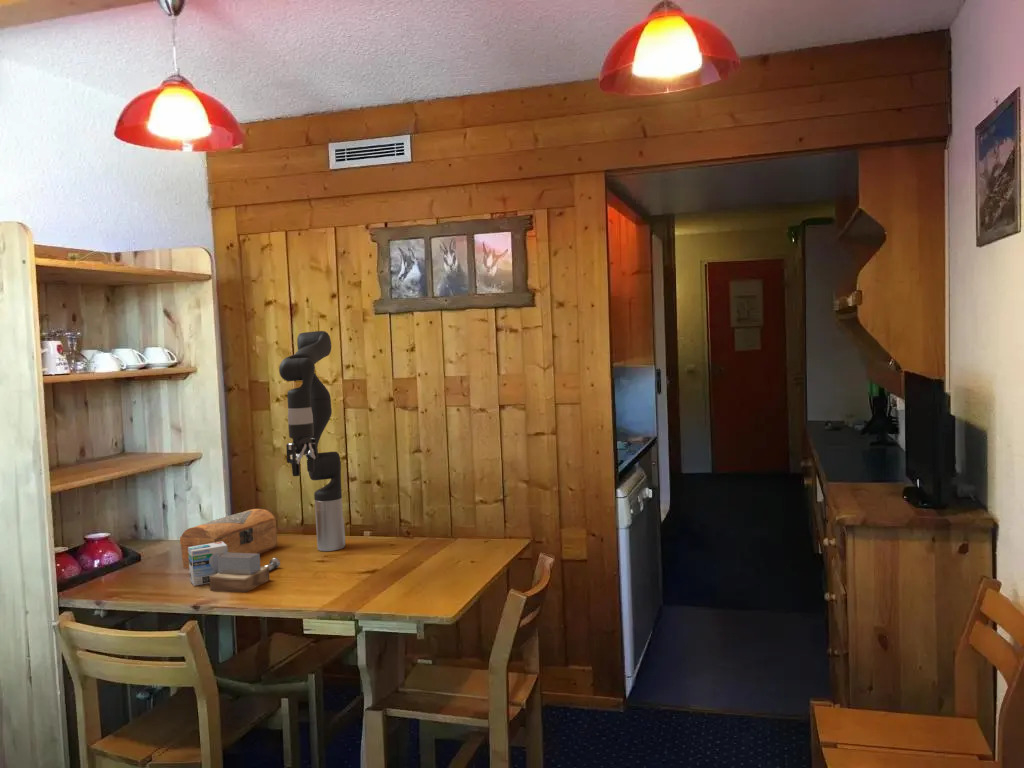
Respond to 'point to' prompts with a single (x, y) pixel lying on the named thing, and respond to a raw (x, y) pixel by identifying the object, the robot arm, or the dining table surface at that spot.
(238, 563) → the block
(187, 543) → the wooden box
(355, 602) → the dining table surface
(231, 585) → the stand
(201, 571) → the light bulb box
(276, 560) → the bolt
